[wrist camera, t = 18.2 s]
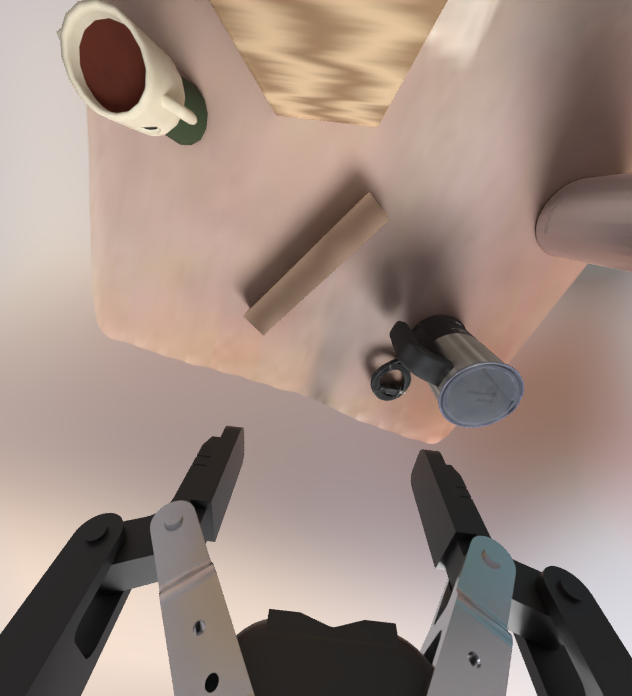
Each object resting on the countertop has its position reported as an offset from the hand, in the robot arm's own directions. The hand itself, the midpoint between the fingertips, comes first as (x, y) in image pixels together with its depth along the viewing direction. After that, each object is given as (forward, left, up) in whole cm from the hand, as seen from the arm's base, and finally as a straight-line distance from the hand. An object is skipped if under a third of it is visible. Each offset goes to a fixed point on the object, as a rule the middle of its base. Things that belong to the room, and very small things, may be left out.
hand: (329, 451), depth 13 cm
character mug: (+20, -18, -32) cm, 42 cm away
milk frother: (-15, +11, -32) cm, 37 cm away
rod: (+3, -2, -32) cm, 33 cm away
